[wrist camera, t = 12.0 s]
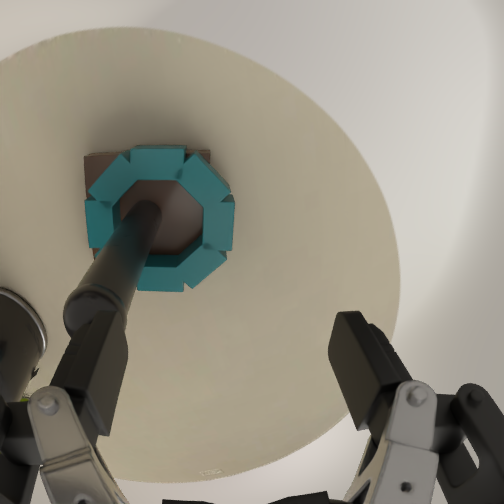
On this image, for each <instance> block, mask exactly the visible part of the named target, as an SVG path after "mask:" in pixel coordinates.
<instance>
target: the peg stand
mask: <svg viewBox="0 0 504 504" xmlns="http://www.w3.org/2000/svg"><path fill="white" fill-rule="evenodd" d="M194 151H195V150H186V158H187V157H188V156H189V155H190V154H192V153H193V152H194ZM197 151H198V152H199V153H200V154H201V155H202V156H203V158H204V159H205V160H206V161H207V162H208V163H209V164H210V150H197ZM121 153H123V152H106V153H91V154H89V155H86V156H84V169H85V185H86V197H87V198H89V197H90V196H91V194H90V193H89V192H88V190H89V188H90V187H91V186H92V185H93V184H94V183H95V181H96V180H97V179H98V178H99V177H100V176H101V174H102V173H103V172H104V171H105V170H106V169H107V168H108V166H109V165H110V164H111V163H112V162H113V161H114V160H115V159H116V158H117V157H118V155H119V154H121ZM120 215H121V223H120V224H119V225H118V227H117V228H116V230H115V231H114V232H113V234H112V235H111V237H110V238H109V240H108V241H107V242H106V244H105V245H104V247H103V248H102V250H101V251H100V253H99V254H98V256H97V257H96V258H95V257H94V262H93V263H92V265H91V266H90V268H89V269H88V271H87V272H86V274H85V276H84V277H83V279H82V280H81V282H80V283H79V285H78V287H77V288H76V289H75V290H74V291H73V292H72V293H71V294H70V295H69V297H68V298H67V300H66V302H65V305H64V310H63V320H64V325H65V328H66V330H67V332H68V334H69V336H70V337H71V338H72V336H73V334H74V332H75V331H76V330H78V329H79V328H80V327H81V326H82V325H83V324H84V323H85V324H91V322H92V320H93V318H94V316H95V314H96V312H97V311H98V310H109V311H119V312H120V314H121V317H122V322H123V327H124V331H125V329H126V324H127V314H128V311H129V308H130V305H131V302H132V299H133V296H134V293H135V290H136V287H137V285H138V282H139V279H140V276H141V273H142V271H143V268H144V265H145V262H146V260H147V257H148V254H150V255H179V254H180V253H181V252H182V251H184V250H185V249H186V248H187V247H188V246H189V245H190V244H191V243H192V242H194V241H195V240H196V239H197V238H198V237H199V236H200V235H201V234H202V229H203V207H202V206H201V205H200V204H199V203H198V202H197V201H196V200H195V199H194V198H193V197H192V196H191V195H190V194H189V193H188V192H187V191H186V190H185V189H184V188H183V187H182V186H181V185H180V184H179V183H178V182H177V181H176V180H137V181H136V182H135V183H134V184H133V185H132V186H131V187H130V188H129V189H128V191H127V192H126V193H125V194H124V195H123V196H122V197H121V198H120ZM92 249H93V256H94V255H95V254H96V252H97V251H98V249H99V248H92Z"/></svg>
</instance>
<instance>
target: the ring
mask: <svg viewBox="0 0 504 504" xmlns="http://www.w3.org/2000/svg"><path fill="white" fill-rule="evenodd" d="M186 149H187V146H186V145H138V146H136V147H134V148H132V149H130V151H129V150H127V151H125V152H123V153H121V154H119V155H118V157H117V158H116V159H115V160H114V161H113V162H112V163H111V164H110V165H109V166H108V168H107V169H106V170H105V171H104V172H103V173H102V174H101V176H100V177H99V178H98V179H97V180H96V181H95V183H94V184H93V185H92V186H91V187H90V188H89V190H88V192H89V193H90V194H91V196H90V197H89V198H87V199H86V200H85V213H86V223H87V233H88V241H89V248H99V249H98V251H97V252H96V254H95V255H94V257H95V258H96V257H97V256H98V254H99V253H100V251H101V250H102V248H103V247H104V245H105V244H106V242H107V241H108V240H109V238H110V237H111V235H112V234H113V232H114V231H115V230H116V228H117V227H118V225H119V224H120V223H121V215H120V198H121V197H122V196H123V195H124V194H125V193H126V192H127V191H128V189H129V188H130V187H131V186H132V185H133V184H134V183H135V182H136V181H137V180H176V181H177V182H178V183H179V184H180V185H181V186H182V187H183V188H184V189H185V190H186V191H187V192H188V193H189V194H190V195H191V196H192V197H193V198H194V199H195V200H196V201H197V202H198V203H199V204H200V205H201V206H202V207H203V229H202V234H201V235H200V236H199V237H198V238H197V239H196V240H195V241H194V242H192V243H191V244H190V245H189V246H188V247H187V248H186V249H185V250H184V251H182V252H181V253H180V254H179V255H150V254H148V257H147V260H146V262H145V265H144V268H143V271H142V273H141V276H140V279H139V282H138V285H137V290H138V291H166V292H183V290H184V282H185V283H186V284H187V285H188V286H189V287H190V288H192V289H193V288H194V287H195V286H196V285H197V284H199V283H200V282H201V281H202V280H203V279H205V278H206V277H207V276H208V275H209V274H210V273H212V272H213V271H214V270H215V269H216V268H218V267H219V266H220V265H221V264H222V263H224V262H225V261H226V260H227V255H226V251H231V250H232V240H233V224H234V209H235V201H234V198H233V195H232V194H230V193H231V191H230V187H229V184H228V183H227V182H226V181H225V180H224V179H223V178H222V177H221V176H220V175H219V173H218V172H217V171H216V170H215V169H214V168H213V167H212V166H211V165H210V164H209V163H208V162H207V161H206V160H205V159H204V158H203V156H202V155H201V154H200V153H199V152H198V151H197V150H195V151H194V152H193V153H192V154H190V155H189V156H188V157H187V158H186Z"/></svg>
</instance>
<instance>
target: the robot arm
mask: <svg viewBox="0 0 504 504" xmlns="http://www.w3.org/2000/svg"><path fill="white" fill-rule="evenodd" d="M46 347H47V336H46V332H45V329H44V326H43V324H42V322H41V320H40V319H39V317H38V316H37V314H36V313H35V312H34V310H33V309H32V308H31V307H30V306H29V305H28V304H27V303H26V302H25V301H24V300H23V299H22V298H20V297H19V296H17V295H16V294H14V293H13V292H11V291H8V290H6V289H3V288H0V504H30V501H31V497H32V493H33V489H34V485H35V481H36V478H37V474H38V471H39V467H40V465H43V466H42V467H40V475H41V479H42V481H43V484H44V487H45V489H46V492H47V495H48V497H49V499H50V502H51V504H129V502H128V501H127V499H126V498H125V496H124V495H123V493H122V492H121V490H120V488H119V487H118V485H117V483H116V482H115V480H114V478H113V476H112V474H111V473H110V471H109V469H108V467H107V465H106V463H105V461H104V459H103V457H102V456H101V454H100V452H99V450H98V448H97V446H96V442H97V438H98V435H102V436H109V435H110V430H111V426H112V421H113V417H114V413H115V408H116V404H117V400H118V396H119V392H120V388H121V384H122V380H123V376H124V373H125V369H126V365H127V361H128V345H127V341H126V336H125V332H124V327H123V322H122V317H121V314H120V312H119V311H109V310H98V311H97V312H96V314H95V316H94V318H93V320H92V322H91V324H85V323H84V324H83V325H82V326H81V327H80V328H79V329H78V330H76V331H75V332H74V334H73V336H72V338H71V340H70V342H69V345H68V346H67V348H66V350H65V354H63V357H62V359H61V361H60V363H59V365H58V367H57V369H56V372H55V374H54V376H53V378H52V380H51V383H50V385H49V386H46V387H43V388H40V389H38V390H37V391H35V392H34V393H33V394H32V395H31V397H30V398H29V401H21V398H22V396H23V394H24V392H25V389H26V387H27V385H28V383H29V381H30V380H31V379H32V378H33V377H34V376H35V375H36V374H37V372H38V370H39V368H38V369H37V370H36V371H35V372H34V370H35V368H36V366H37V364H38V362H39V360H40V359H41V358H42V356H43V354H44V352H45V350H46ZM328 356H329V361H330V363H331V366H332V368H333V371H334V373H335V376H336V378H337V381H338V383H339V386H340V388H341V391H342V393H343V396H344V398H345V401H346V404H347V406H348V409H349V411H350V414H351V416H352V419H353V421H354V424H355V427H356V429H357V431H360V430H365V429H369V430H370V433H371V435H370V437H369V439H368V442H367V445H366V448H365V451H364V453H363V456H362V459H361V462H360V464H359V467H358V470H357V473H356V475H355V478H354V480H353V482H352V485H351V486H350V488H349V490H348V491H347V493H346V495H345V497H344V499H343V501H342V500H334V499H329V498H328V494H327V491H323V492H318V493H312V494H305V495H298V496H291V497H286V498H284V499H281V500H278V501H275V502H272V503H268V504H431V500H432V495H433V490H434V485H435V480H436V478H437V480H438V482H439V484H440V486H441V489H442V491H443V493H444V496H445V498H446V500H447V502H448V504H504V415H503V414H502V412H501V411H500V409H499V408H498V406H497V405H496V403H495V402H494V400H493V399H492V398H491V396H490V395H489V393H488V392H487V391H486V390H485V389H484V388H483V387H481V386H479V385H476V384H472V383H468V384H464V385H463V386H461V388H459V390H458V392H457V393H456V395H446V394H435V392H434V390H433V389H432V388H431V387H430V386H429V385H427V384H426V383H424V382H421V381H417V380H413V379H412V377H411V376H410V374H409V373H408V371H407V369H406V368H405V366H404V364H403V363H402V361H401V360H400V358H399V356H398V355H397V353H396V352H394V348H393V347H392V345H391V344H389V341H388V339H387V337H386V336H385V334H384V333H383V332H382V331H381V330H380V329H379V328H377V327H376V326H375V325H374V324H368V323H367V321H366V320H365V318H364V317H363V315H362V313H361V312H360V311H344V312H338V313H337V315H336V318H335V322H334V326H333V330H332V334H331V338H330V341H329V346H328ZM20 401H21V402H20ZM466 438H468V440H469V442H470V443H471V445H472V447H473V449H474V451H475V452H476V454H477V456H478V458H479V468H478V469H477V467H476V465H475V463H474V461H473V460H472V458H471V456H470V454H469V452H468V450H467V449H466V447H465V445H464V443H463V441H464V440H465V439H466ZM162 504H213V503H208V502H204V501H179V500H165V499H163V500H162Z"/></svg>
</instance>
